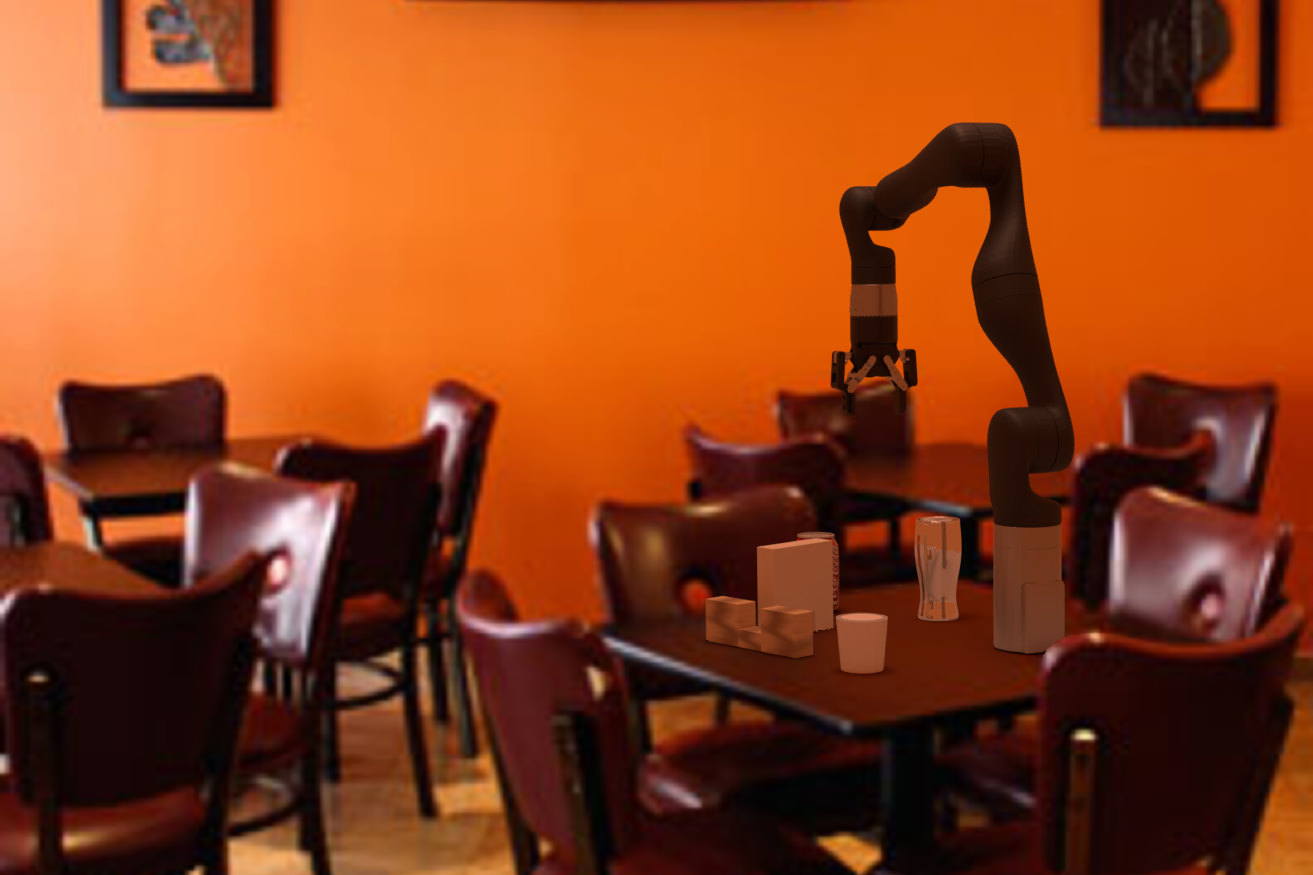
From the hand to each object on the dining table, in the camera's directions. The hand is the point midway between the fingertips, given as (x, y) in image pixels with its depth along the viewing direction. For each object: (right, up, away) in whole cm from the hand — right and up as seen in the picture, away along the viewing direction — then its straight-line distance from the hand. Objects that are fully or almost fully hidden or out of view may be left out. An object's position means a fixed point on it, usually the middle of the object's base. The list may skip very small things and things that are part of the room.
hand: (874, 415), depth 302 cm
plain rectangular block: (-14, -32, -25) cm, 43 cm away
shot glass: (-8, -34, -52) cm, 62 cm away
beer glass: (+8, -31, -16) cm, 36 cm away
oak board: (-20, -33, -36) cm, 53 cm away
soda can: (-10, -31, -9) cm, 33 cm away
